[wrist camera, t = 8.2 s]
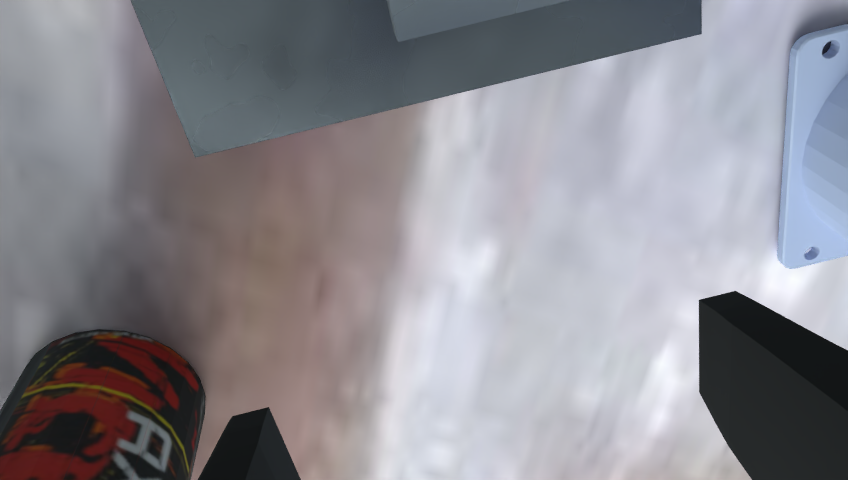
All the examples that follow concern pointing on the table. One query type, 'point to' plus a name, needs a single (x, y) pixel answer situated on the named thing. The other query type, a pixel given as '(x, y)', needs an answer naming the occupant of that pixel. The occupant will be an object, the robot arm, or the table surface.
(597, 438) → the table surface
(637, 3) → the base plate with holder
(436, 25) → the column
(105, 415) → the deodorant
